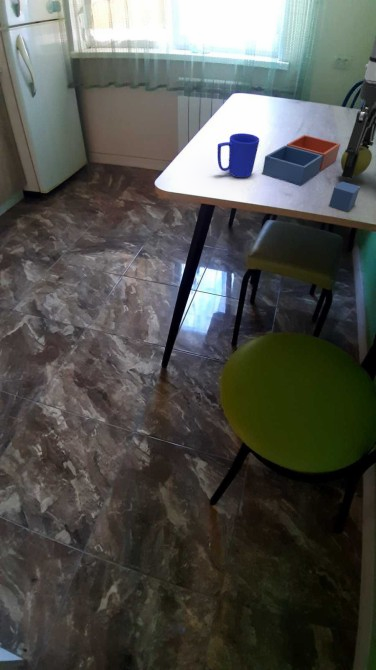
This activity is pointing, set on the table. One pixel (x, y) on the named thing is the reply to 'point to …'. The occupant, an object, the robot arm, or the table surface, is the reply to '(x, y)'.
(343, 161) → the apple
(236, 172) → the mug
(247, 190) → the table surface
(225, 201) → the table surface
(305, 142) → the red bin
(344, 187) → the block
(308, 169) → the blue bin
